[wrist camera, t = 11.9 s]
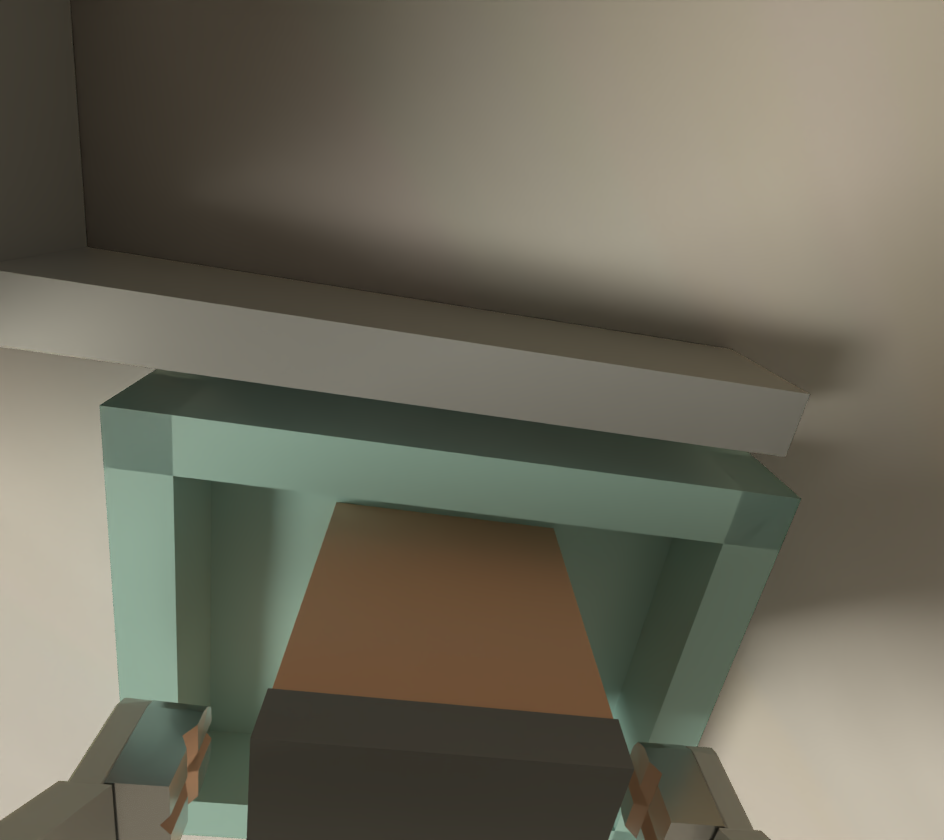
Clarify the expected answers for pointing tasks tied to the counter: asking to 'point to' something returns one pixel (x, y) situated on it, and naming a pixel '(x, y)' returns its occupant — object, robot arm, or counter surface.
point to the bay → (322, 307)
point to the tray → (421, 490)
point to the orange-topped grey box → (436, 692)
